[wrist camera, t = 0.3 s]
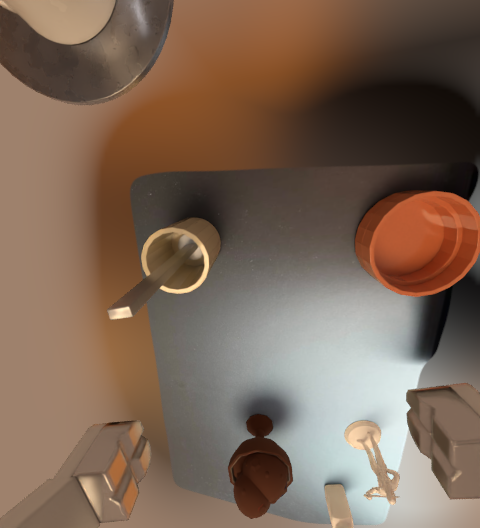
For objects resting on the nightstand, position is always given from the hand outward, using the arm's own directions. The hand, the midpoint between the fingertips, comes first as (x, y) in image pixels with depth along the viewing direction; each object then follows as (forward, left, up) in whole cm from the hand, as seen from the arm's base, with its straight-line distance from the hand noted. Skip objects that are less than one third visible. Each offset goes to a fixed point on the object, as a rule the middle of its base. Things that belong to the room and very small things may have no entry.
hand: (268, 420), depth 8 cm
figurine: (+44, +14, -35) cm, 58 cm away
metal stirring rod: (0, -10, -34) cm, 35 cm away
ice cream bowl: (+39, -6, -35) cm, 52 cm away
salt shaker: (+59, +7, -35) cm, 69 cm away
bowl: (+5, +22, -35) cm, 41 cm away
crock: (0, -10, -35) cm, 36 cm away
